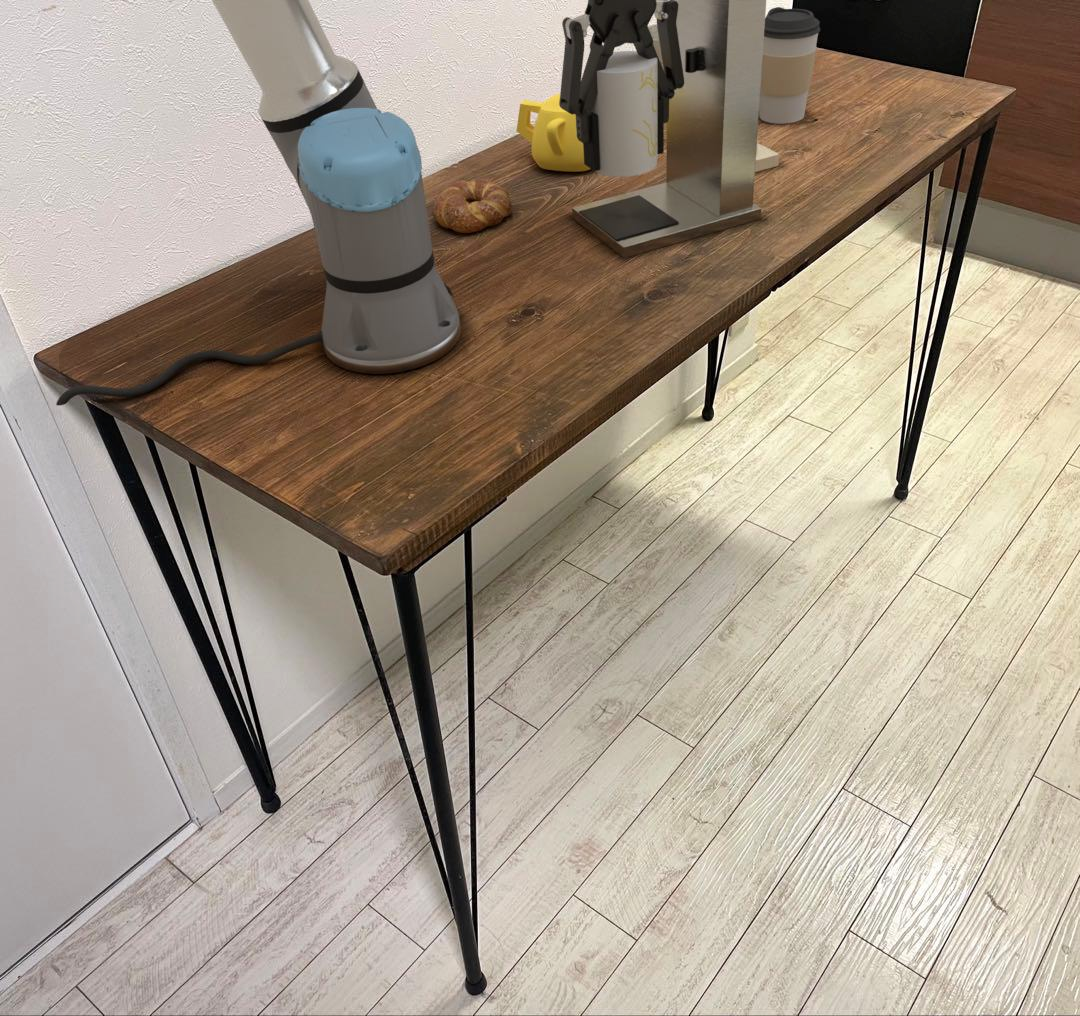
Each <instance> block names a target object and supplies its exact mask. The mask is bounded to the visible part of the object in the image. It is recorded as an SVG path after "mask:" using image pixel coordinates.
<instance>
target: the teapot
mask: <svg viewBox="0 0 1080 1016" xmlns="http://www.w3.org/2000/svg"><path fill="white" fill-rule="evenodd" d="M559 102H560V93H557V94H554V95H551V96H550V97H549V98H547V99H546V100H544V102H542V101H535V100H526V99H523V100H522V101H521V103H519V109H518V116H517V117H518V118H517V125H516V132H517V133H518V134H519V135H520V136H521V137H523V138H524V139H525V140H527V141H528V142H529V143H530V144H531V156H532V158H533V160H534V161H535V163H536V164H537V166H538V167H539V168H541V169H543V170H549V171H555V172H556V171H557V172H573V173H574V172H575V173H576V172H586V171H589V170H592V169H591V168H589V167H588V166H586V165H585V164H584V149H583V143H582V142H581V141H579V140H578V138H577V131H576V115H575V114H570V113H568V112H567V111H565V110H563V109H562V108H561V107H560V105H559ZM532 113H535V114H537V117H536V120H535V123H534V125H533V124H531V116H532V115H531V114H532Z"/></svg>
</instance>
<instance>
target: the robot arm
mask: <svg viewBox="0 0 1080 1016" xmlns="http://www.w3.org/2000/svg"><path fill="white" fill-rule="evenodd" d="M211 2H212V3H213V5H214V7H215V9H216V11H217V12H218V14H219V16H220V18H221V20H222V21H223V24H224V25H225V27H226V29H227V30H228V32H229V34H230V36H231V38H232V39H233V41H234V43H235V44H236V46H237V48H238V50H239V52H240V53H241V56H242V57H243V59H244V61H245V63H246V65H247V66H248V68H249V70H250V72H251V74H252V76H253V77H254V79H255V81H256V83H257V85H258V86H259V88H260V89H261V94H262V95H261V98H260V103H259V106H258V111H257V112H258V115H259V117H260V119H261V121H262V122H263V124H264V126H265V128H266V129H267V131H268V133H269V135H270V136H271V138H272V140H273V142H274V143H275V145H276V147H277V149H278V151H279V153H280V154H281V156H282V158H283V160H284V163H285V164H286V167H287V168H288V170H289V171H290V173H291V174H292V176H293V178H294V180H295V181H296V184H297V186H298V188H299V190H300V193H301V195H302V197H303V199H304V201H305V203H306V205H307V208H308V210H309V213H310V216H311V220H312V224H313V227H314V232H315V236H316V241H317V245H318V250H319V254H320V255H319V256H320V259H321V264H322V267H323V272H324V276H325V281H326V288H325V290H326V291H325V296H324V306H323V313H322V322H321V331H319V332H316V333H314V334H312V335H308V336H306V337H305V336H304V337H302V338H300V339H297V340H295V341H291V342H290V343H287V344H285V345H282V346H280V347H278V348H276V349H273V350H271V351H269V352H267V353H266V352H265V353H263V354H258V355H242V354H237V353H233V352H229V351H223V350H214V349H213V350H212V349H210V350H203V351H198V352H194V353H191V354H188V355H186V356H184V357H182V358H180V359H179V360H177V361H175V362H173V364H171V365H170V366H169V367H168V368H166V369H165V370H164V371H163V372H162V373H160V374H159V375H157V376H156V377H155V378H153V379H152V380H151V379H150V381H148V382H145V383H142V384H140V385H138V386H137V385H136V386H133V387H109V386H101V385H89V384H87V385H78V386H74V387H72V388H71V387H70V388H69V389H67V390H66V391H64V392H63V393H62V394H61V395H60V396H59V397H58V399H57V400H56V406H59V407H60V406H64V405H66V404H68V402H69V401H70V400H72V399H73V398H74V397H77V396H79V395H98V396H105V397H116V398H117V397H118V398H119V397H120V398H121V397H122V398H126V397H127V398H128V397H135V396H139V395H142V394H145V393H148V392H151V391H152V390H153V391H154V390H155V389H157V388H159V387H160V386H162V385H163V384H165V383H166V382H167V381H168V380H170V379H171V378H173V376H174V375H175V374H177V373H178V372H179V371H181V370H182V369H184V368H185V367H186V366H189V365H190V364H193V363H195V362H199V361H204V360H208V359H209V360H210V359H217V360H223V361H229V362H233V363H236V364H241V365H242V364H243V365H258V364H264V363H268V362H270V361H271V362H272V361H273V360H276V359H278V358H281V357H282V356H284V355H287V354H289V353H291V352H293V351H296V350H299V349H301V348H304V347H307V346H309V345H313V344H315V343H318V342H321V341H322V345H323V348H324V352H325V355H326V357H327V358H328V359H329V360H330V361H331V362H332V363H333V364H335V365H337V366H338V367H340V368H342V369H344V370H348V371H352V372H355V373H359V374H369V375H370V374H372V375H373V374H374V375H383V374H395V373H401V372H406V371H410V370H414V369H417V368H421V367H423V366H426V365H428V364H430V363H433V362H435V361H437V360H439V359H440V358H442V357H443V356H445V355H447V354H448V353H449V352H450V351H451V350H452V349H453V348H454V347H455V346H456V344H457V343H458V341H459V340H460V337H461V334H462V328H461V327H462V326H461V320H460V313H459V311H458V309H457V306H456V304H455V302H454V300H453V298H454V299H456V298H455V295H454V293H453V292H452V289H451V287H450V286H448V285H447V284H446V283H445V282H444V281H443V279H442V277H441V275H440V273H439V271H438V269H437V267H436V263H435V256H434V251H433V243H432V242H433V241H432V236H431V230H430V224H429V223H430V221H429V216H428V215H429V214H428V208H427V202H426V194H425V188H424V187H425V186H424V181H423V174H422V170H423V165H422V164H423V163H422V156H421V150H420V149H419V146H418V145H417V140H416V139H417V138H416V136H415V133H414V131H413V129H412V127H411V126H410V125H409V123H408V122H406V120H405V119H403V118H402V117H400V116H398V115H397V114H395V113H393V112H390V111H384V112H382V111H381V110H380V109H378V107H377V105H376V103H375V101H374V99H373V97H372V95H371V93H370V91H369V88H368V86H367V85H366V83H365V80H364V78H363V76H362V74H361V72H360V70H359V68H358V66H357V64H356V63H355V61H353V60H351V59H348V58H346V57H343V56H339V55H337V54H336V53H335V51H334V49H333V47H332V45H331V43H330V41H329V39H328V37H327V35H326V33H325V30H324V29H323V27H322V25H321V23H320V20H319V19H318V17H317V15H316V12H315V11H314V9H313V6H312V4H311V3H310V1H309V0H211ZM677 13H678V3H677V2H676V1H674V0H587V5H586V8H585V9H584V14H581V15H579V16H576V17H574V18H571V17H568V16H567V17H565V18H563V19H562V23H561V24H562V31H563V36H564V39H565V41H564V43H565V44H564V52H563V61H562V62H563V63H562V72H561V82H560V93H559V94H560V102H559V105H560V107H561V108H562V109H563V110H565V111H567V112H568V113H570V114H575V115H576V131H577V138H578V140H579V141H581V142H582V143H583V149H584V164H585V165H586V166H588V167H589V168H591V169H590V170H592V171H593V172H595V171H597V170H600V156H599V128H598V115H597V114H595V113H593V112H592V110H593V106H594V103H595V100H596V97H597V94H598V87H597V71H600V70H605V69H606V66H607V63H608V60H609V58H610V57H611V56H612V54H613V52H615V49H616V48H618V47H621V46H623V45H625V44H632V45H633V46H634V48H635V51H637V53H638V55H640V56H642V57H644V58H646V59H652V58H657V60H658V156H659V155H661V154H664V153H665V151H664V149H665V148H664V147H665V146H664V141H665V140H664V136H665V135H664V133H665V132H664V129H665V128H664V125H665V124H667V122H668V120H669V99H671V98H673V97H674V94H675V91H674V90H675V89H677V88H679V89H680V88H682V87H683V86H684V75H683V68H682V61H681V54H680V47H679V40H678V32H677V25H676V20H677ZM653 16H654V18H655V19H656V25H657V29H658V35H659V42H660V48H661V55H662V61H663V68H664V70H663V68H662V65H661V63H660V60H659V58H658V55H657V53H656V50H655V48H654V46H653V39H652V36H651V34H650V31H649V29H648V26H649V24H650V22H651V20H652V18H653ZM589 27H590V29H591V30H592V31H593V33H592V37H591V40H590V43H589V54H588V57H587V60H586V63H585V67H584V69H583V65H584V64H583V63H584V56H585V55H584V54H585V38H586V37H587V36H588V28H589Z"/></svg>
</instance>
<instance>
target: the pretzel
mask: <svg viewBox="0 0 1080 1016" xmlns="http://www.w3.org/2000/svg"><path fill="white" fill-rule="evenodd" d="M512 210H513V204H512V201H511V199H510V196H509V192H508V191H507V189H506V188H505V187H504V186H501V185H499V184H496V183H494V182H492V181H491V180H490V179H489V180H487V179H484V178H477V179H473V180H471V181H467V180H464V179H461V180H457V181H453V182H450V183H448V184H446V185H445V186H443V187H442V188H441V189H440V191H438V192H437V195H436V198H435V202H434V203H433V207H432V213H433V217H434V220H435V221H436V222H437V223H438V225H440V226H441V227H443V228H446V229H451V230H452V231H454V232H456V233H460V234H469V233H470V234H471V233H475V232H479V231H481V230H483V229H485V228H486V227H492V226H497V225H498V224H500V223H501V222H502V221H503V219H504V218H506V217H508V216H509V215H511V213H512Z"/></svg>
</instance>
